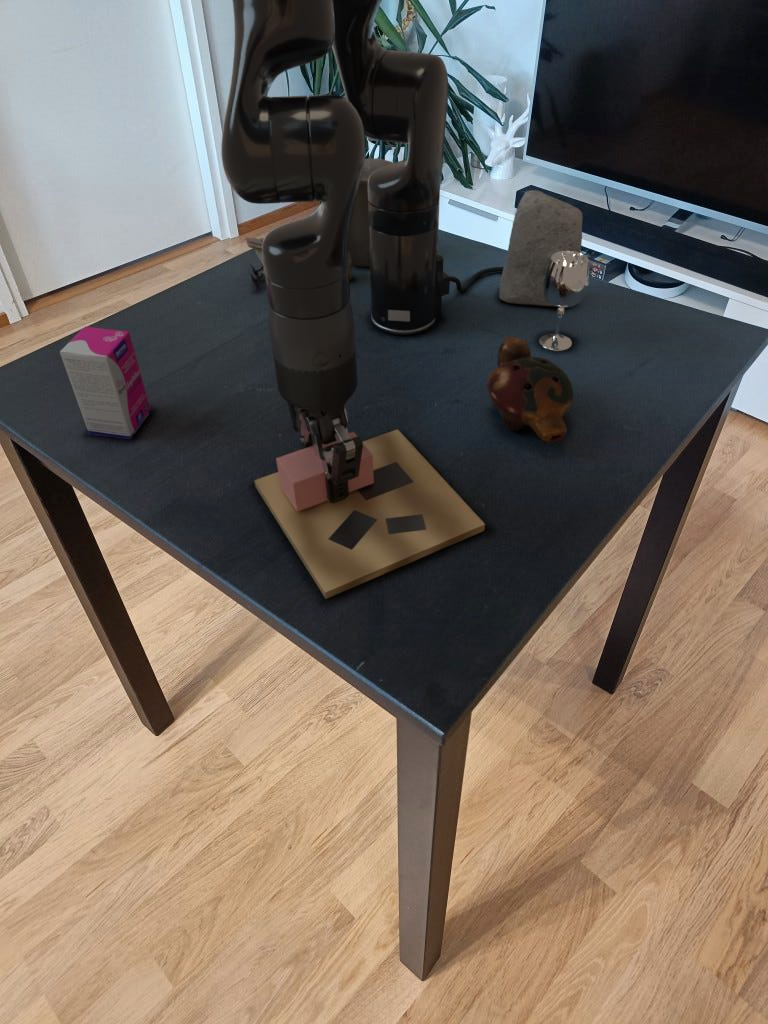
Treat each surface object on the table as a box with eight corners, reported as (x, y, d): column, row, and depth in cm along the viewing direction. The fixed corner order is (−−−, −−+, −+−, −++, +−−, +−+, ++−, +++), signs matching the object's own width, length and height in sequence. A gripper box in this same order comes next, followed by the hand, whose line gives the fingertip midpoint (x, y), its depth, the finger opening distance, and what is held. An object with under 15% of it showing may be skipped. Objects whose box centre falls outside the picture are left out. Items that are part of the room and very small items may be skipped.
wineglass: (529, 348, 97) (541, 265, 89) (539, 328, 101) (552, 246, 92) (572, 356, 95) (588, 272, 87) (580, 335, 99) (596, 252, 91)
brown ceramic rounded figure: (527, 376, 92) (540, 322, 86) (590, 451, 83) (610, 397, 77) (460, 389, 90) (469, 335, 84) (517, 469, 80) (532, 413, 74)
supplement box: (133, 440, 84) (105, 357, 76) (87, 434, 85) (55, 351, 77) (154, 411, 88) (129, 329, 80) (110, 406, 89) (81, 324, 81)
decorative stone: (575, 295, 107) (593, 193, 97) (569, 314, 103) (588, 210, 93) (504, 285, 110) (514, 185, 100) (495, 303, 106) (505, 201, 96)
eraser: (355, 459, 79) (353, 431, 76) (374, 483, 76) (373, 454, 73) (280, 486, 76) (275, 458, 73) (297, 512, 73) (293, 483, 70)
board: (397, 435, 84) (397, 428, 83) (484, 530, 73) (485, 524, 72) (255, 487, 78) (254, 480, 77) (325, 599, 67) (324, 592, 66)
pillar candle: (337, 266, 116) (330, 169, 105) (349, 240, 123) (344, 147, 112) (396, 270, 114) (395, 172, 104) (405, 243, 121) (405, 149, 111)
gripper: (388, 372, 61) (390, 513, 73) (318, 301, 70) (330, 437, 82) (308, 397, 58) (324, 539, 71) (246, 320, 68) (270, 458, 80)
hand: (327, 483), depth 76 cm, fingers closed on eraser, 4 cm apart
